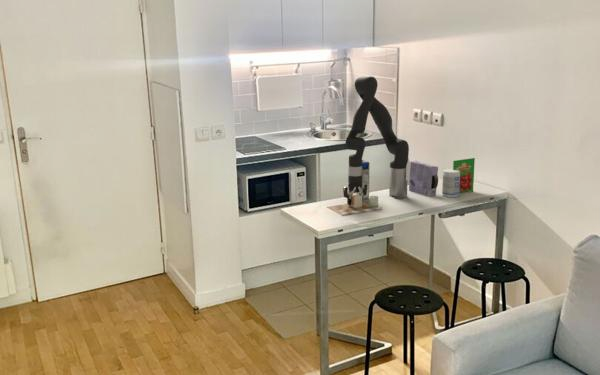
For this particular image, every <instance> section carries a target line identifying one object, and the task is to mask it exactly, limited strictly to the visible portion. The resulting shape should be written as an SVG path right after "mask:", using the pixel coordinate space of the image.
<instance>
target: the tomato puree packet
mask: <svg viewBox="0 0 600 375" xmlns="http://www.w3.org/2000/svg"><path fill="white" fill-rule="evenodd" d="M475 160H476V158H475V157H472V158H471V157H470V158H464V159H457V160H453V161H452V162H453V163H452V165H453V166H452V169H453V170H459V171H460V187H459V195H460V194H466V193H472V192H474V180H475Z"/></svg>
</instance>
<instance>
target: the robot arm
mask: <svg viewBox="0 0 600 375" xmlns="http://www.w3.org/2000/svg"><path fill="white" fill-rule="evenodd" d="M378 85H379V84H378V81H377V78H376V77H374V76H361V77H357V78H356V79H355V81H354V88H355V91H356V94H358V96H359V98H360V99H361V100H362V102H361V103H360V104H359V107H358V108H357V110H356V112H355V114H354V115H353V118H352V126H351V128H350V130H349V132H348V134H347V137H346V140H345V143H344V144H345V147H346V149H347V150H348V151H349V150H351V151H355V153H352V154H350V155H349V156H348V170H347V177H348V178H347V179H348V180H347V182H348V185H347V186H343V187H342V192H343V198H346V199H347V200H346V202H347V203H346V204H348V205H351V196H352V195H353V193H356V192H357V193H359V195H362V202H363V201H364V200H363V196H364V195H366V194H367V184H362V160H363V156H364V152H365V149H366V140H365V138H364V137H360V136H358V135H359V134H363V133H365V130H366V125H367V121H368V117H369V114H370V116H371V118H372V120H373V122H374V124H375V125H376V128H378V131H379V134H380V135H381V136H382V139H383V142H384V144H385V145H386V149H387V151H388V153H390V155H391V154H392V155H394V160H392V161H390V162H389V191H388V192H389V194H388V196H389V197H390V198H392V199H395V200H396V199H397V200H398V199H404V198H406V197H407V198H408V184H409V181H408V179H407V166H408V162H409V152H410V147H409V142H407V141H406V139H405V140H404V139H401V138H398V137H397V135H396V133H395V132H394V130H393V118H392V115H391V114H390V112H389V110H388V109H387V107H386V106H385V105H384V104H383V103H382V102H381V101H379V100H378V99H377V97H375V95H376V93H377V90H378ZM362 187H363V191H362V190H361V188H362Z"/></svg>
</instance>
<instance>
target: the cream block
mask: <svg viewBox="0 0 600 375" xmlns="http://www.w3.org/2000/svg"><path fill="white" fill-rule="evenodd" d="M351 206H353V207H355V208H356V207H362V195H359V194H357V193H353V195H352V196H351Z"/></svg>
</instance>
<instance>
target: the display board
mask: <svg viewBox="0 0 600 375" xmlns="http://www.w3.org/2000/svg"><path fill="white" fill-rule="evenodd" d="M326 208H327V209H329V210H331V211H333V212H335V213H337V214H338V215H341V217H343V216H349V215H350V216H351V215H357V214H363V213H369V212H374V211H375V212H376V211H380V210H383V206H378V207H376V208H370V202H368V201H366V200H363V202H362V207H356V208H355V207H353V206H351V205H348V204H347V203H345V204H344V203H343V204H335V205H331V206H326Z"/></svg>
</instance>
